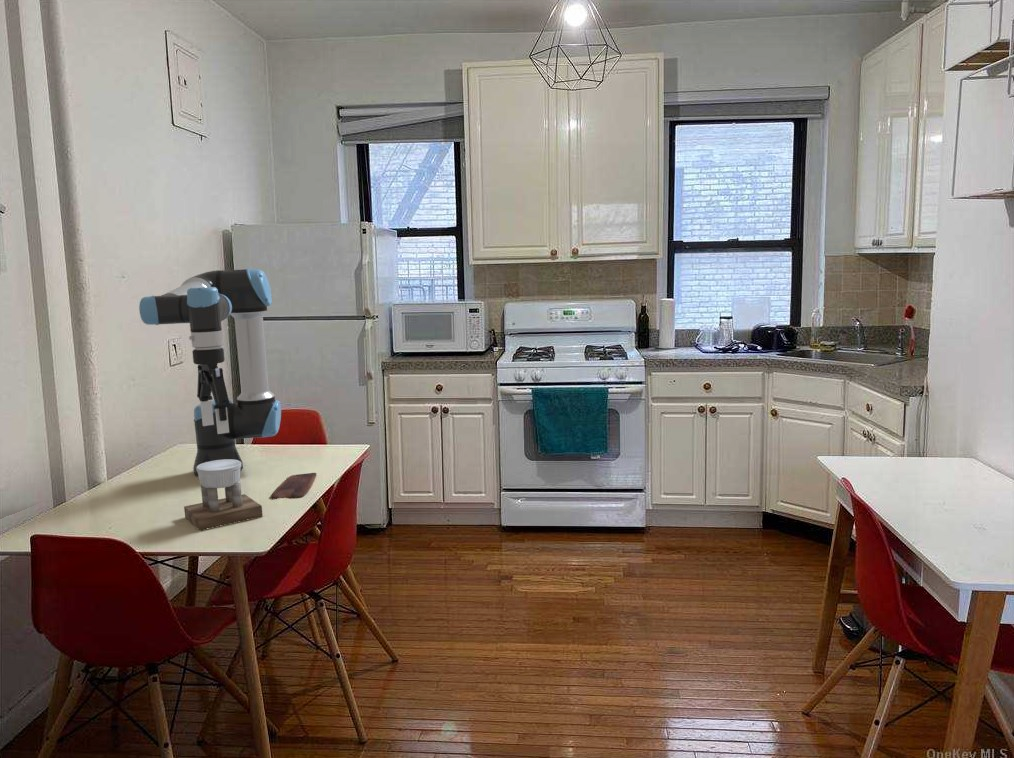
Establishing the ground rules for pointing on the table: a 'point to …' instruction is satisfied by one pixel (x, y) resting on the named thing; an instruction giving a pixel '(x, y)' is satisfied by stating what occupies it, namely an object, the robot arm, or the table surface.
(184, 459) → the table surface
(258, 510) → the peg stand
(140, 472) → the table surface
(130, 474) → the table surface
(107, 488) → the table surface
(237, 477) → the ramekin
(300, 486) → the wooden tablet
